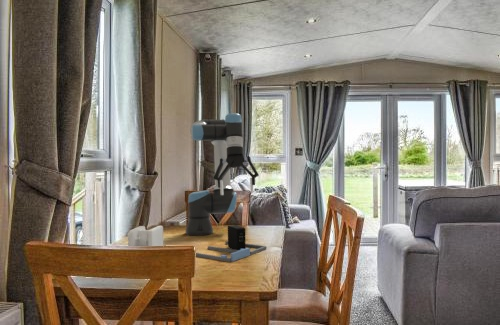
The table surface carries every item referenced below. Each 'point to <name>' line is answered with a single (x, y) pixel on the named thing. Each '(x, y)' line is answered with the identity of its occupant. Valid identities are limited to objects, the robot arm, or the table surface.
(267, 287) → the table surface
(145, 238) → the cable organizer
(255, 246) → the grey flat frame
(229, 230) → the electronic device
